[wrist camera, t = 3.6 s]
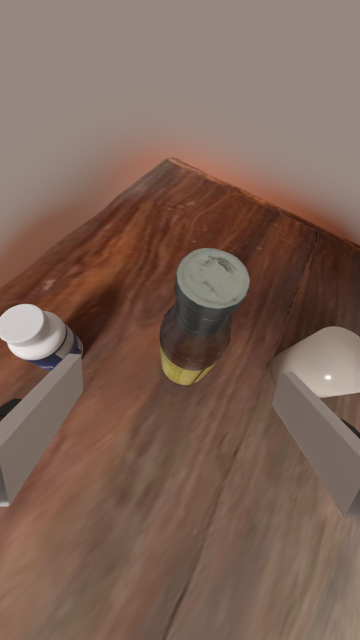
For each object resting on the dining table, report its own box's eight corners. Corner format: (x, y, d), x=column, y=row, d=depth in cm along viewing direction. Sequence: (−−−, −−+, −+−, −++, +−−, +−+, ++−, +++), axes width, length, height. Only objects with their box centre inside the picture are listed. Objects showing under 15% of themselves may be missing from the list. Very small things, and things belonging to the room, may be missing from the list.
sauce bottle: (198, 338, 31) (254, 225, 13) (211, 381, 28) (303, 312, 10) (154, 347, 30) (150, 235, 12) (164, 393, 27) (177, 337, 9)
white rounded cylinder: (280, 342, 32) (322, 315, 24) (324, 368, 31) (383, 349, 23) (263, 380, 29) (304, 365, 21) (310, 411, 28) (372, 407, 20)
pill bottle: (32, 367, 27) (-28, 341, 18) (53, 330, 29) (9, 291, 20) (73, 378, 27) (31, 356, 18) (90, 339, 29) (62, 304, 20)
